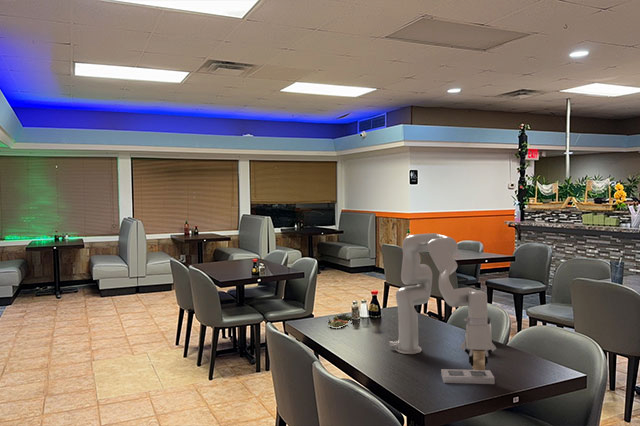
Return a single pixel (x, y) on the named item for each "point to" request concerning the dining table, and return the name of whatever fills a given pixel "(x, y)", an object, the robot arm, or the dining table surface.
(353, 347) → the dining table surface
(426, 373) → the dining table surface
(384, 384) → the dining table surface
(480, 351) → the beech block
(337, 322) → the plated dish
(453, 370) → the rail
